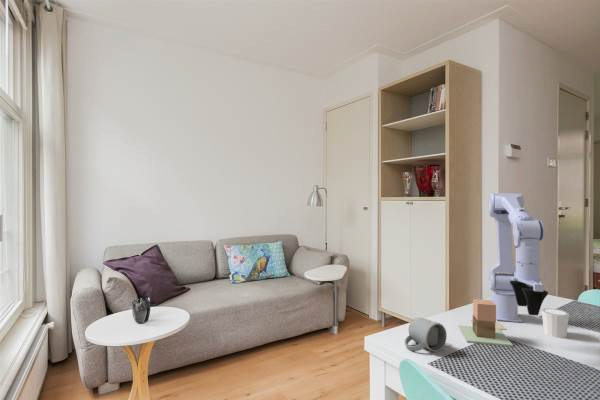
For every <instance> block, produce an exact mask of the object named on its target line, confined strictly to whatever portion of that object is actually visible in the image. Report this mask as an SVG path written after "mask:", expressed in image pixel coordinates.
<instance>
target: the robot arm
mask: <svg viewBox="0 0 600 400" xmlns="http://www.w3.org/2000/svg"><path fill="white" fill-rule="evenodd" d="M524 205H525V198H524V194H523V193H521V192H517V193H516V192H513V193H512V192H511V193H507V192H506V193H505V192H504V193H503V192H502V193H499V192H498V193H494V192H492V193H490V194H489V196H488V212H489V213H488V214H489V216H490V217H491V218H493V219H494V221H495V230H496V252H497V253H496V257H497V263H495V265H493V266H491V268H489V270H488V286H489V289H490V290H491V292H492V293H491V301H492V302H493V303H494V304H495V305H496V321H500V322H501V321H502V322H503V321H504V322H512V323H513V322H515V323H522V322H523V320H522V319H521V318H520V317H519V316H518V312H519V311H518V307H526V309H527V313H528V315H531V316H538V315H539V314H540V311H541V308H542V304H543V302H544V300H545V299H546V297H547V296H548V293H549V292H548V291H547V290H544V284H543V282H542V279H541V242H542V241H543V239H544V235H545V234H544V233H545V227H544V224H543V222H542V220H540V219H535V218H533V216H532V214H531V213H530V211H528V210H527V209H526V208H525V206H524ZM512 237H513V240H512ZM513 245H514V246H515V265H514V259H513Z"/></svg>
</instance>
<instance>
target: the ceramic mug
mask: <svg viewBox="0 0 600 400" xmlns="http://www.w3.org/2000/svg"><path fill="white" fill-rule="evenodd" d="M411 341H414V342H415V343H416V345H409V343H410V342H411ZM446 343H447V330H446V328H445V326H444V325H443V324H441V323H440V322H437V321H433V320H430V319H427V318H424V317H416V318H413V319H412V320H411V322H410V324H409V326H408V336H406V337H405V339H404V345H405V347H406V349H407V350H408V351H411V352H419V351H422V350H423V349H424V348H425V349H427V350H429V351H430V352H434V353H437V352H440V351H441V350H442V349H443V348H444V346H445V345H446Z"/></svg>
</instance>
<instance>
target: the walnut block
mask: <svg viewBox="0 0 600 400" xmlns="http://www.w3.org/2000/svg"><path fill="white" fill-rule="evenodd" d="M472 320H473V323H472V327H473V332H474V333H475V335H476V336H477V337H484V338H495V322H491V321H478V320H477V319H476V318H475V316H474V315H473V314H472Z"/></svg>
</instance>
